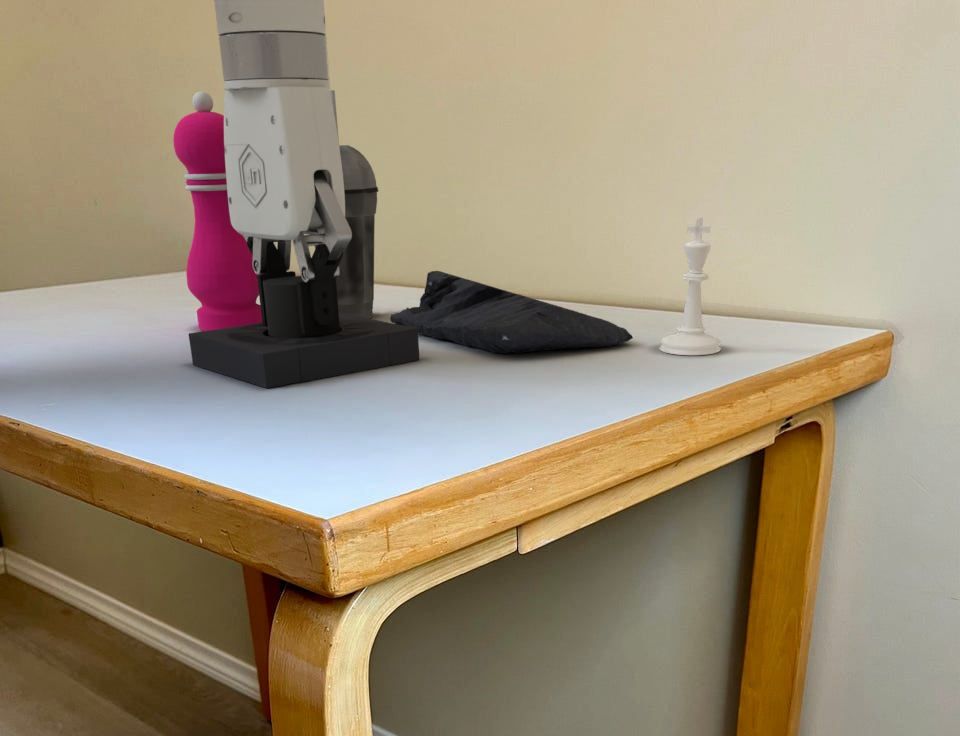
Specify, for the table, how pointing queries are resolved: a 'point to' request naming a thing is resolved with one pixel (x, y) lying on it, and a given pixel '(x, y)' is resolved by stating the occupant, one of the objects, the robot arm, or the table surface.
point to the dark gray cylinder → (283, 307)
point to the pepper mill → (214, 225)
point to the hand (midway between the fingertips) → (300, 326)
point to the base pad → (303, 351)
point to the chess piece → (693, 303)
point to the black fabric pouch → (502, 319)
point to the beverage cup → (357, 232)
